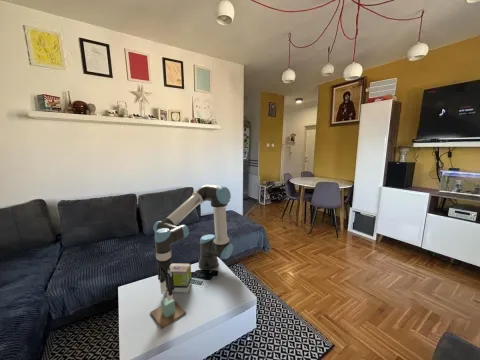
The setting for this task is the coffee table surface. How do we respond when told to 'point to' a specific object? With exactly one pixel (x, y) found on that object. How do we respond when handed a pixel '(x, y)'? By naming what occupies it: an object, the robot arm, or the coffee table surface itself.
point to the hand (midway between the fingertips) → (166, 296)
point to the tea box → (181, 277)
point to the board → (165, 321)
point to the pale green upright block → (167, 307)
